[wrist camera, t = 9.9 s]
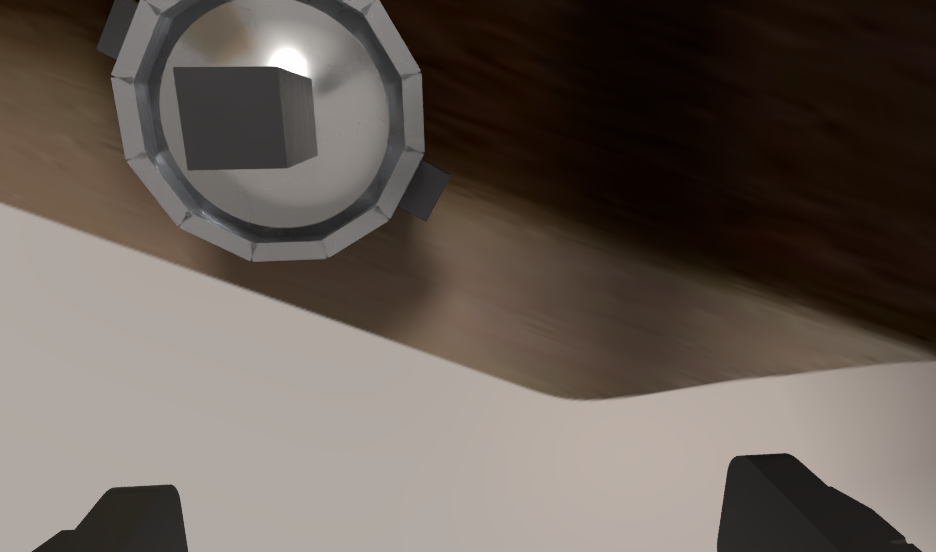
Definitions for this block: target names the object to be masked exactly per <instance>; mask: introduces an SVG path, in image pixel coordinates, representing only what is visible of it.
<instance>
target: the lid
mask: <svg viewBox="0 0 936 552" xmlns="http://www.w3.org/2000/svg"><path fill="white" fill-rule="evenodd" d="M159 106H160V117H161V123H162V128H163V132H164V136H165V139H166V142H167V145H168V147H169V150H170V152H171V154H172V156H173V158H174V160H175V162H176V164H177V165H178V167H179V168H180V170H181V171H182V173H183V174H184V176H185V177H186V178H187V180H188V181H189V182H190V183H191V184H192V186H193V187H194V188H195V189H196V190H197V191H198V192H199V193H200V194H201V195H203V196H204V197H205V198H206V199H207V200H208V201H210V202H211V203H212V204H214V205H215V206H216V207H218V208H219V209H221V210H223V211H225V212H226V213H228V214H230V215H232V216H234V217H237V218H239V219H241V220H244V221H246V222H250V223H253V224H257V225H261V226H268V227H274V228H293V227H303V226H307V225H311V224H316V223H318V222H321V221H324V220H327V219H329V218H331V217H333V216H335V215H337V214H338V213H340V212H342V211H343V210H345V209H346V208H347V207H349V206H350V205H352V204H353V203H354V202H355V201H356V200H357V199H358V198H359V197H360V196H361V195H362V194H363V193H364V191H365V190H366V189H367V188H368V186H369V185H370V184H371V182H372V181H373V179H374V177H375V176H376V174H377V172H378V171H379V169H380V166H381V164H382V162H383V159H384V157H385V153H386V150H387V146H388V140H389V134H390V111H389V102H388V98H387V94H386V90H385V87H384V84H383V81H382V79H381V76H380V74H379V72H378V70H377V68H376V66H375V64H374V62H373V61H372V59H371V58H370V56H369V55H368V53H367V52H366V50H365V49H364V48H363V46H362V45H361V44H360V43H359V41H358V40H357V39H356V38H355V37H354V36H353V35H352V34H351V33H350V32H349V31H348V30H347V29H346V28H345V27H344V26H342V25H341V24H340V23H339V22H337V21H336V20H335V19H333V18H332V17H330V16H329V15H327V14H326V13H324V12H322V11H320V10H318V9H316V8H314V7H312V6H310V5H307V4H304V3H301V2H298V1H295V0H233V1H231V2H228V3H225V4H223V5H220V6H218V7H216V8H214V9H212V10H211V11H209V12H207V13H205V14H204V15H203V16H201V17H200V18H199V19H198V20H196V21H195V22H194V23H193V24H192V25H191V26H190V27H189V28H188V29H187V30H186V31H185V32H184V33H183V34H182V36H181V37H180V39H179V40H178V41H177V43H176V44H175V46H174V48H173V50H172V52H171V54H170V56H169V58H168V60H167V63H166V66H165V69H164V72H163V75H162V81H161V86H160V101H159Z"/></svg>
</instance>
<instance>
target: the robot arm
mask: <svg viewBox="0 0 936 552" xmlns="http://www.w3.org/2000/svg"><path fill="white" fill-rule="evenodd" d="M32 552H188V548H187V541H186V534H185V528H184V521H183V515H182V508H181V503H180V497H179V493H178V491H177V489H176V488H175V487H174V486H173V485H156V486H155V485H153V486H135V487H116V488H111V489H109V490H108V491H107V492H106V493H105V494H104V495H103V496H102V497H101V498H100V499H99V501H98V502H97V503H96V504H95V506H94V507H93V508H92V509H91V511H90V512H89V513H88V514H87V515H86V517H85V518H84V519H83V520H82V521H81V523H80V524H79V525H78V526H77V528H76V529H75V530H62V531H60V532H59V533H57V534H56V535H55V536H53V537H52V538H50V539H49V540H48V541H46V542H45V543H43V544H42V545H41V546H39V547H38V548H36V549H35V550H34V551H32ZM717 552H922V551H921V550H919V549H918V548H917V547H916V546H914V544H908V543H907V542H906V540H905V537H904V536H903V535H902V534H900V533H899V532H898V531H897V530H896V529H895V528H894V527H892V526H891V525H890V524H889V523H888V522H886V521H885V520H884V519H883V518H882V517H881V516H879V515H878V514H877V513H876V512H875V511H874V510H872V509H871V508H869V507H867V506H865V505H864V504H862V503H860V502H858V501H856V500H854V499H853V498H851V497H849V496H847V495H846V494H844V493H842V492H840V491H838V490H837V489H835V488H833V487H828V486H827V485H826V484H825V483H824V482H823V481H821V480H820V479H819V478H818V477H817V476H816V475H815V474H814V473H812V472H811V471H810V470H809V469H808V468H807V467H806V466H805V465H803V464H802V463H801V462H800V461H799V460H798V459H796V458H795V457H794V456H792V455H790V454H786V453H783V454H764V455H745V456H736V457H734V458H733V459H732V460H731V462H730V464H729V467H728V472H727V478H726V485H725V492H724V499H723V505H722V512H721V519H720V526H719V533H718V541H717Z"/></svg>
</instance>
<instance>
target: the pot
mask: <svg viewBox="0 0 936 552" xmlns="http://www.w3.org/2000/svg"><path fill="white" fill-rule="evenodd" d="M231 1H233V0H146V1H145V0H140V2H139V3H138V2H136V1H134V0H115V1H114V4H113V6H112V9H111V12H110V14H109V17H108V20H107V22H106V25H105V27H104V30H103V33H102V35H101V38H100V41H99V43H98V46H97V48H96V50H98V51H100V52H102V53H104V54H106V55H108V56H110V57H112V58H114V59H115V60H117V61H116V63H115V66H114V69H113V71H112V74H111V75H113V76H115V77H117V78H111V81H112V87H113V92H114V98H115V103H116V109H117V115H118V120H119V126H120V131H121V137H122V142H123V148H124V153H125V159H130V160H129V161H127V163H128V164H129V165H130V167H131V168H132V169H133V170H134V172H135V173H136V174H137V176H138V177H139V178H140V179H141V181H142V182H143V183H144V184H145V186H146V187H147V188H148V190H149V191H150V192H151V193H152V195H153V196H154V197H155V198H156V200H157V201H158V202H159V204H160V205H161V206H162V207H163V209H164V210H165V211H166V212H167V214H168V215H169V216H170V218H171V219H172V220H173V221H174V223H175V224H176V225H177V226H179V225H181V226H180V228H181V229H183V230H185V231H187V232H189V233H191V234H193V235H196V236H198V237H200V238H202V239H204V240H206V241H208V242H210V243H212V244H215V245H217V246H219V247H221V248H223V249H225V250H227V251H229V252H232V253H234V254H236V255H238V256H240V257H242V258H244V259H246V260H249V261H251V260H253V262H260V261H285V260H310V259H326V258H327V257H328V258H329V257H331V256H333V255H334V254H336V253H338V252H339V251H341V250H342V249H344V248H346V247H347V246H349V245H350V244H352V243H354V242H355V241H357V240H358V239H360V238H362V237H363V236H365V235H366V234H368V233H370V232H371V231H373V230H375V229H376V228H378V227H379V226H381V225H383V224H384V223H386V222H387V221H389V218H390V219H391V217H392V215H393V213H394V211H395V209H396V207H399V208H401V209H402V210H404V211H406V212H408V213H410V214H412V215H414V216H416V217H418V218H420V219H422V220H423V221H425V222H426V221H427V220H428V218H429V216H430V214H431V212H432V210H433V208H434V206H435V205H436V203H437V201H438V199H439V197H440V195H441V193H442V192H443V190H444V188H445V186H446V184H447V182H448V180H449V178H450V177H451V176H450V174H449V173H448V172H446V171H444V170H442V169H441V168H439V167H437V166H435V165H433V164H431V163H430V162H428V161H426V160H424V159H422V157H423V155H424V153H423V152H425V151H424V125H423V99H422V74H419V73H420V72H421V70H420V69H419V67H418V65H417V64H416V62H415V60H414V59H413V57H412V55H411V53H410V52H409V50H408V48H407V47H406V45H405V43H404V42H403V40H402V38H401V36H400V35H399V33H398V31H397V30H396V28H395V26H394V25H393V23H392V21H391V20H390V18H389V16H388V14H387V13H386V11H385V9H384V8H383V6H382V4H381V3H380V1H379V0H295V1H298V2H301V3H304V4H307V5H310V6H312V7H314V8H316V9H318V10H320V11H322V12H324V13H326V14H327V15H329V16H330V17H332V18H333V19H335V20H336V21H337V22H339V23H340V24H341V25H342V26H344V27H345V28H346V29H347V30H348V31H349V32H350V33H351V34H352V35H353V36H354V37H355V38H356V39H357V40H358V41H359V43H360V44H361V45H362V46H363V48H364V49H365V50H366V52H367V53H368V55H369V56H370V58H371V59H372V61H373V62H374V64H375V66H376V68H377V70H378V72H379V74H380V76H381V79H382V81H383V84H384V87H385V90H386V94H387V98H388V102H389V111H390V134H389V140H388V146H387V150H386V153H385V157H384V159H383V162H382V164H381V166H380V169H379V171H378V172H377V174H376V176H375V177H374V179H373V181H372V182H371V184H370V185H369V186H368V188H367V189H366V190H365V191H364V193H363V194H362V195H361V196H360V197H359V198H358V199H357V200H356V201H355V202H354V203H353V204H352V205H350V206H349V207H347V208H346V209H345V210H343V211H342V212H340V213H338V214H337V215H335V216H333V217H331V218H329V219H327V220H324V221H321V222H318V223H316V224H311V225H307V226H303V227H293V228H274V227H268V226H261V225H257V224H253V223H250V222H246V221H244V220H241V219H239V218H237V217H234V216H232V215H230V214H228V213H226V212H225V211H223V210H221V209H219V208H218V207H216V206H215V205H214V204H212V203H211V202H210V201H208V200H207V199H206V198H205V197H204V196H203V195H201V194H200V193H199V192H198V191H197V190H196V189H195V188H194V187H193V186H192V184H191V183H190V182H189V181H188V180H187V178H186V177H185V176H184V174H183V173H182V171H181V170H180V168H179V167H178V165H177V164H176V162H175V160H174V158H173V156H172V154H171V152H170V150H169V147H168V145H167V142H166V139H165V136H164V132H163V128H162V123H161V117H160V106H159V101H160V86H161V81H162V75H163V72H164V69H165V66H166V63H167V60H168V58H169V56H170V54H171V52H172V50H173V48H174V46H175V44H176V43H177V41H178V40H179V39H180V37H181V36H182V34H183V33H184V32H185V31H186V30H187V29H188V28H189V27H190V26H191V25H192V24H193V23H194V22H195V21H196V20H198V19H199V18H200V17H201V16H203V15H204V14H205V13H207V12H209V11H211V10H212V9H214V8H216V7H218V6H220V5H223V4H225V3H228V2H231Z"/></svg>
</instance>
